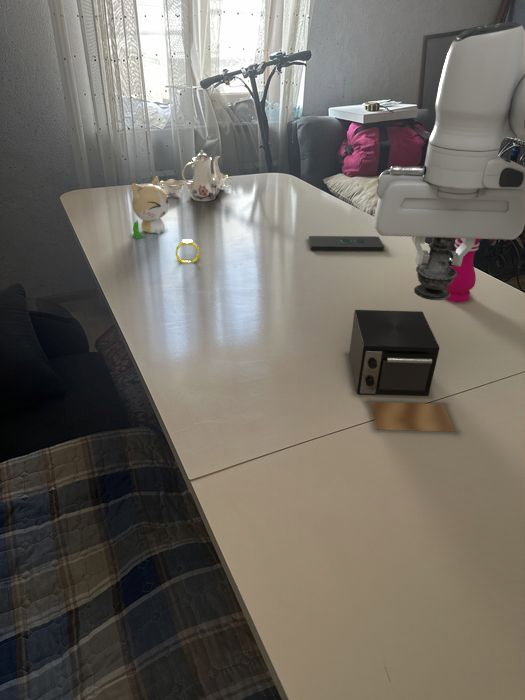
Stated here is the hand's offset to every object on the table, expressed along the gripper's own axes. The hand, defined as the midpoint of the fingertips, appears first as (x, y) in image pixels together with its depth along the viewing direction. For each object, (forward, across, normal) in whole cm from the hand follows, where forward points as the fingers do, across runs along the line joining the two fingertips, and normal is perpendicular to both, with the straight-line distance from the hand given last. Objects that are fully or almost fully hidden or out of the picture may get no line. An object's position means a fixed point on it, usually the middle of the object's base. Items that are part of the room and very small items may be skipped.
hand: (437, 264), depth 75 cm
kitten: (+24, -61, +73) cm, 98 cm away
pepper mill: (+23, +17, +36) cm, 46 cm away
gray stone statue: (+5, 0, 0) cm, 5 cm away
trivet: (+23, -2, -8) cm, 24 cm away
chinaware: (+24, -53, +110) cm, 125 cm away
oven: (+23, -4, +4) cm, 24 cm away
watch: (+24, -47, +51) cm, 74 cm away
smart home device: (+23, -5, +66) cm, 70 cm away
